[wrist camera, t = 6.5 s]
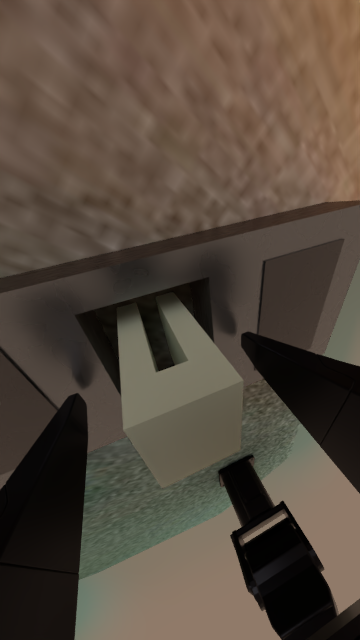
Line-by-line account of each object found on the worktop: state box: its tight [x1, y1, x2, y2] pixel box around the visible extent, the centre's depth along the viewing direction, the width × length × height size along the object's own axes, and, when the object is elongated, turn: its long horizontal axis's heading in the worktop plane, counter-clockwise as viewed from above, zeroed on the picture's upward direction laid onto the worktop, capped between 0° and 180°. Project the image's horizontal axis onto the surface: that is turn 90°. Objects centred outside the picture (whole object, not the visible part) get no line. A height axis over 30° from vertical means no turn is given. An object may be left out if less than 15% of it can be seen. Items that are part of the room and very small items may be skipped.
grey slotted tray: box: [0, 200, 360, 489], centre depth 11 cm, size 11×26×3 cm, turn 100°
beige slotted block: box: [117, 292, 244, 489], centre depth 9 cm, size 5×4×8 cm
